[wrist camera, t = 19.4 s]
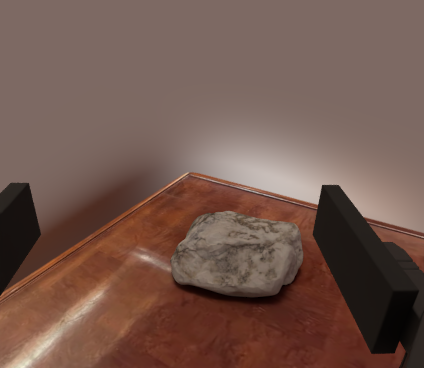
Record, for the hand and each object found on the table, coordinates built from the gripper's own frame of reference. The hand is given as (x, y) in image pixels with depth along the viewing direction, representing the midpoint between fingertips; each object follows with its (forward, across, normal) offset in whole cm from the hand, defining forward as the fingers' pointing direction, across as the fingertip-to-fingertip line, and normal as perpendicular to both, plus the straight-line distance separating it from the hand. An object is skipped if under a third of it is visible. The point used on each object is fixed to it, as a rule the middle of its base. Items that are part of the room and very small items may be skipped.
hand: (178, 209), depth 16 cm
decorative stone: (+28, +7, -29) cm, 42 cm away
